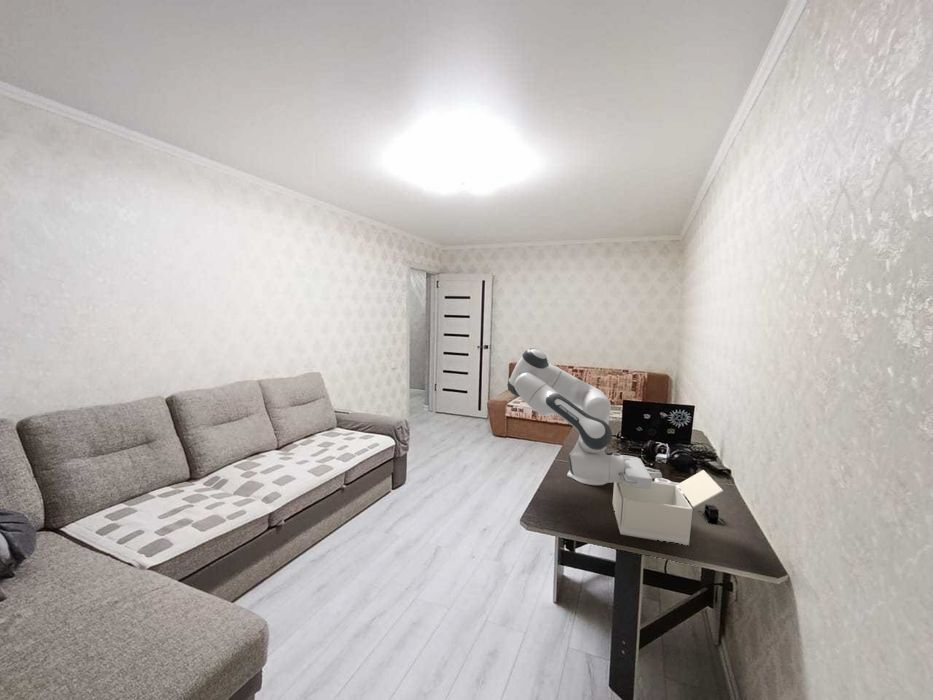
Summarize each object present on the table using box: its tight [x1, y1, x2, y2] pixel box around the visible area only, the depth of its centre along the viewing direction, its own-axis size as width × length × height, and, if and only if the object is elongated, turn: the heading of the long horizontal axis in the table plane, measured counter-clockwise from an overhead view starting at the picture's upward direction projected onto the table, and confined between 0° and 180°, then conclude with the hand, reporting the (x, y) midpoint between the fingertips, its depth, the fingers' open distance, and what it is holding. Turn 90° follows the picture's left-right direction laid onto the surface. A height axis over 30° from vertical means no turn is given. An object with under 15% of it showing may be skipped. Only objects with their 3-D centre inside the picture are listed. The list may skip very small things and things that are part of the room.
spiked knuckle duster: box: [653, 477, 687, 498], centre depth 160 cm, size 3×18×15 cm
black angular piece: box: [701, 503, 726, 526], centre depth 141 cm, size 12×7×5 cm, turn 170°
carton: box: [612, 480, 693, 547], centre depth 133 cm, size 19×21×12 cm
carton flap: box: [678, 469, 724, 508], centre depth 129 cm, size 17×10×1 cm
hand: (660, 474), depth 131 cm, fingers closed
